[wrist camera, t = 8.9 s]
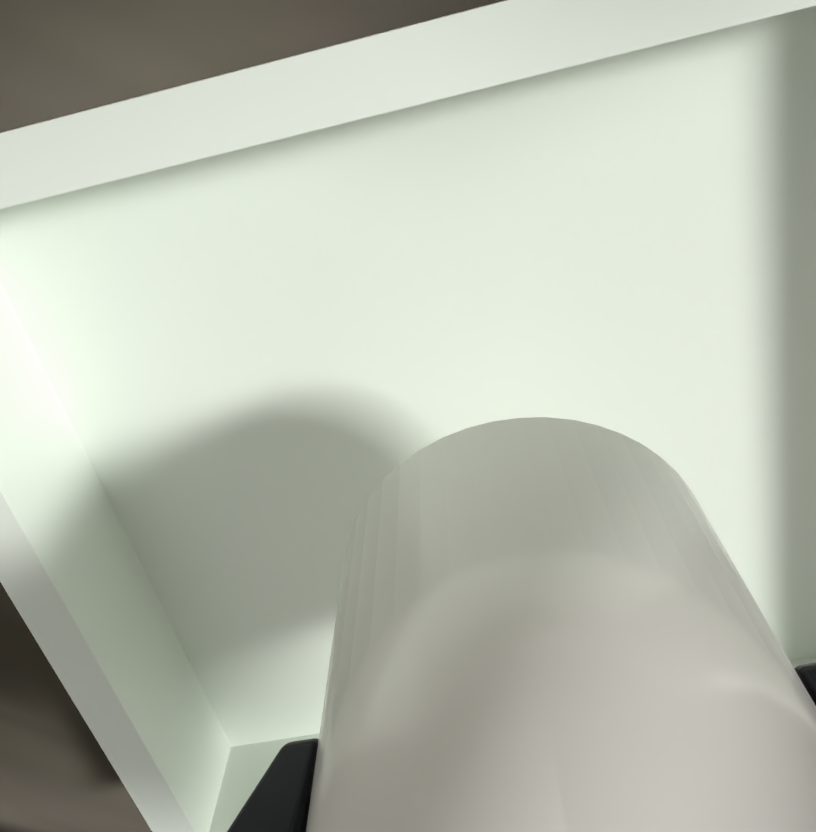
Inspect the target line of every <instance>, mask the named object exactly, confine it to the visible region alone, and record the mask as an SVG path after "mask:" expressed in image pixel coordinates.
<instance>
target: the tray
mask: <svg viewBox="0 0 816 832" xmlns="http://www.w3.org/2000/svg"><path fill="white" fill-rule="evenodd" d="M533 417H549V418H560V419H570V420H576V421H581V422H585V423H590V424H594V425H598V426H601V427H604V428H607V429H610V430H613V431H616V432H618V433H621V434H623V435H625V436H627V437H629V438H631V439H633V440H635V441H637V442H639V443H641V444H643V445H644V446H646V447H647V448H649V449H650V450H651V451H653V452H654V453H656V454H657V455H659V456H660V457H661V458H663V459H664V460H665V461H666V462H667V463H668V464H669V465H670V466H671V467H672V468H673V469H674V470H675V471H676V472H677V473H678V474H679V475H680V476H681V478H682V479H683V480H684V482H685V483H686V484H687V485H688V487H689V488H690V489H691V491H692V493H693V494H694V496H695V498H696V500H697V501H698V503H699V505H700V506H701V508H702V510H703V512H704V513H705V515H706V517H707V519H708V520H709V522H710V524H711V526H712V527H713V529H714V531H715V532H716V534H717V536H718V538H719V539H720V541H721V543H722V545H723V546H724V548H725V550H726V552H727V553H728V555H729V557H730V558H731V560H732V562H733V564H734V565H735V567H736V569H737V571H738V572H739V574H740V576H741V577H742V579H743V581H744V583H745V584H746V586H747V588H748V590H749V591H750V593H751V595H752V597H753V598H754V600H755V602H756V603H757V605H758V607H759V609H760V610H761V612H762V614H763V616H764V617H765V619H766V621H767V623H768V624H769V626H770V628H771V629H772V631H773V633H774V635H775V636H776V638H777V640H778V642H779V643H780V645H781V647H782V649H783V650H784V652H785V654H786V655H787V657H788V659H789V661H790V662H791V664H792V666H793V668H794V667H795V666H797V665H800V664H806V663H813V662H816V0H503V1H499V2H495V3H492V4H488V5H484V6H480V7H476V8H472V9H469V10H465V11H461V12H457V13H453V14H450V15H446V16H442V17H438V18H434V19H431V20H427V21H423V22H419V23H415V24H411V25H408V26H404V27H400V28H396V29H392V30H389V31H385V32H381V33H377V34H373V35H370V36H366V37H362V38H358V39H354V40H351V41H347V42H343V43H339V44H335V45H331V46H328V47H324V48H320V49H316V50H312V51H309V52H305V53H301V54H297V55H293V56H290V57H286V58H282V59H278V60H274V61H270V62H267V63H263V64H259V65H255V66H251V67H248V68H244V69H240V70H236V71H232V72H229V73H225V74H221V75H217V76H213V77H209V78H206V79H202V80H198V81H194V82H190V83H187V84H183V85H179V86H175V87H171V88H168V89H164V90H160V91H156V92H152V93H149V94H145V95H141V96H137V97H133V98H129V99H126V100H122V101H118V102H114V103H110V104H107V105H103V106H99V107H95V108H91V109H88V110H84V111H80V112H76V113H72V114H68V115H65V116H61V117H57V118H53V119H49V120H46V121H42V122H38V123H34V124H30V125H27V126H23V127H19V128H15V129H11V130H8V131H4V132H0V582H1V584H2V586H3V587H4V589H5V590H6V592H7V594H8V595H9V597H10V599H11V600H12V602H13V604H14V605H15V607H16V609H17V610H18V612H19V613H20V615H21V617H22V618H23V620H24V622H25V623H26V625H27V627H28V628H29V630H30V632H31V633H32V635H33V636H34V638H35V640H36V641H37V643H38V645H39V646H40V648H41V650H42V651H43V653H44V655H45V656H46V658H47V659H48V661H49V663H50V664H51V666H52V668H53V669H54V671H55V673H56V674H57V676H58V678H59V679H60V681H61V682H62V684H63V686H64V687H65V689H66V691H67V692H68V694H69V696H70V697H71V699H72V701H73V702H74V704H75V705H76V707H77V709H78V710H79V712H80V714H81V715H82V717H83V719H84V720H85V722H86V724H87V725H88V727H89V728H90V730H91V732H92V733H93V735H94V737H95V738H96V740H97V742H98V743H99V745H100V747H101V748H102V750H103V751H104V753H105V755H106V756H107V758H108V760H109V761H110V763H111V765H112V766H113V768H114V770H115V771H116V773H117V774H118V776H119V778H120V779H121V781H122V783H123V784H124V786H125V788H126V789H127V791H128V793H129V794H130V796H131V797H132V799H133V801H134V802H135V804H136V806H137V807H138V809H139V811H140V812H141V814H142V816H143V817H144V819H145V820H146V822H147V824H148V825H149V827H150V829H151V830H152V832H227V831H228V829H229V827H230V826H231V824H232V823H233V821H234V820H235V818H236V817H237V815H238V814H239V812H240V811H241V809H242V807H243V806H244V804H245V803H246V801H247V800H248V798H249V797H250V795H251V794H252V792H253V791H254V789H255V787H256V786H257V784H258V783H259V781H260V780H261V778H262V777H263V775H264V774H265V772H266V771H267V769H268V767H269V766H270V764H271V763H272V761H273V760H274V758H275V757H276V755H277V754H278V752H279V751H280V749H281V748H282V747H283V746H284V745H285V744H287V743H289V742H293V741H299V740H306V739H312V738H317V739H319V734H320V727H321V720H322V713H323V706H324V698H325V691H326V684H327V677H328V670H329V663H330V656H331V648H332V641H333V634H334V627H335V620H336V613H337V605H338V598H339V591H340V584H341V577H342V570H343V562H344V555H345V550H346V546H347V542H348V538H349V533H350V531H351V529H352V526H353V524H354V522H355V519H356V517H357V514H358V513H359V511H360V510H361V508H362V506H363V505H364V503H365V501H366V500H367V498H368V496H369V495H370V494H371V493H372V492H373V490H374V489H375V488H376V487H377V486H378V484H379V483H380V482H381V481H382V480H383V479H384V478H385V477H386V476H387V475H388V474H389V473H390V472H391V471H392V470H393V469H395V468H396V467H397V466H398V465H399V464H400V463H401V462H403V461H404V460H406V459H407V458H409V457H410V456H411V455H413V454H414V453H416V452H417V451H419V450H420V449H422V448H424V447H426V446H427V445H429V444H431V443H433V442H435V441H437V440H439V439H441V438H443V437H445V436H448V435H450V434H453V433H455V432H458V431H461V430H463V429H466V428H469V427H473V426H477V425H481V424H485V423H489V422H493V421H500V420H507V419H514V418H533Z"/></svg>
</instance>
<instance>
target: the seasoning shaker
mask: <svg viewBox="0 0 816 832" xmlns="http://www.w3.org/2000/svg"><path fill="white" fill-rule="evenodd" d="M306 832H816V706H815V704H814V702H813V700H812V699H811V697H810V695H809V694H808V692H807V690H806V688H805V687H804V685H803V683H802V681H801V680H800V678H799V676H798V675H797V673H796V671H795V669H794V668H793V666H792V664H791V662H790V661H789V659H788V657H787V655H786V654H785V652H784V650H783V649H782V647H781V645H780V643H779V642H778V640H777V638H776V636H775V635H774V633H773V631H772V629H771V628H770V626H769V624H768V623H767V621H766V619H765V617H764V616H763V614H762V612H761V610H760V609H759V607H758V605H757V603H756V602H755V600H754V598H753V597H752V595H751V593H750V591H749V590H748V588H747V586H746V584H745V583H744V581H743V579H742V577H741V576H740V574H739V572H738V571H737V569H736V567H735V565H734V564H733V562H732V560H731V558H730V557H729V555H728V553H727V552H726V550H725V548H724V546H723V545H722V543H721V541H720V539H719V538H718V536H717V534H716V532H715V531H714V529H713V527H712V526H711V524H710V522H709V520H708V519H707V517H706V515H705V513H704V512H703V510H702V508H701V506H700V505H699V503H698V501H697V500H696V498H695V496H694V494H693V493H692V491H691V489H690V488H689V487H688V485H687V484H686V483H685V482H684V480H683V479H682V478H681V476H680V475H679V474H678V473H677V472H676V471H675V470H674V469H673V468H672V467H671V466H670V465H669V464H668V463H667V462H666V461H665V460H664V459H663V458H661V457H660V456H659V455H657V454H656V453H654V452H653V451H651V450H650V449H649V448H647V447H646V446H644V445H643V444H641V443H639V442H637V441H635V440H633V439H631V438H629V437H627V436H625V435H623V434H621V433H618V432H616V431H613V430H610V429H607V428H604V427H601V426H598V425H594V424H590V423H585V422H581V421H576V420H570V419H560V418H549V417H533V418H514V419H507V420H500V421H493V422H489V423H485V424H481V425H477V426H473V427H469V428H466V429H463V430H461V431H458V432H455V433H453V434H450V435H448V436H445V437H443V438H441V439H439V440H437V441H435V442H433V443H431V444H429V445H427V446H426V447H424V448H422V449H420V450H419V451H417V452H416V453H414V454H413V455H411V456H410V457H409V458H407V459H406V460H404V461H403V462H401V463H400V464H399V465H398V466H397V467H396V468H395V469H393V470H392V471H391V472H390V473H389V474H388V475H387V476H386V477H385V478H384V479H383V480H382V481H381V482H380V483H379V484H378V486H377V487H376V488H375V489H374V490H373V492H372V493H371V494H370V495H369V496H368V498H367V500H366V501H365V503H364V505H363V506H362V508H361V510H360V511H359V513H358V514H357V517H356V519H355V522H354V524H353V526H352V529H351V531H350V533H349V538H348V542H347V546H346V550H345V555H344V562H343V570H342V577H341V584H340V591H339V598H338V605H337V613H336V620H335V627H334V634H333V641H332V648H331V656H330V663H329V670H328V677H327V684H326V691H325V698H324V706H323V713H322V720H321V727H320V734H319V741H318V749H317V756H316V763H315V770H314V777H313V784H312V792H311V799H310V806H309V813H308V820H307V827H306Z"/></svg>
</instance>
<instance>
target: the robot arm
mask: <svg viewBox="0 0 816 832" xmlns="http://www.w3.org/2000/svg"><path fill="white" fill-rule="evenodd" d="M794 669H795V671H796V673H797V675H798V676H799V678H800V680H801V681H802V683H803V685H804V687H805V688H806V690H807V692H808V694H809V695H810V697H811V699H812V700H813V702H814V704H815V706H816V662H813V663H806V664H800V665H797V666H795V667H794ZM318 741H319V739H317V738H312V739H306V740H299V741H293V742H289V743H287V744H285V745H284V746H283V747H282V748H281V749H280V751H279V752H278V754H277V755H276V757H275V758H274V760H273V761H272V763H271V764H270V766H269V767H268V769H267V771H266V772H265V774H264V775H263V777H262V778H261V780H260V781H259V783H258V784H257V786H256V787H255V789H254V791H253V792H252V794H251V795H250V797H249V798H248V800H247V801H246V803H245V804H244V806H243V807H242V809H241V811H240V812H239V814H238V815H237V817H236V818H235V820H234V821H233V823H232V824H231V826H230V827H229V829H228V831H227V832H306V827H307V820H308V813H309V806H310V799H311V792H312V784H313V777H314V770H315V763H316V756H317V749H318Z"/></svg>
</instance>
